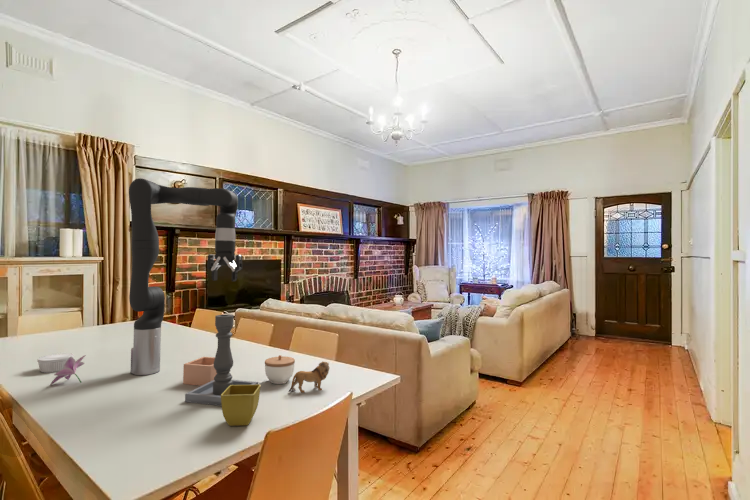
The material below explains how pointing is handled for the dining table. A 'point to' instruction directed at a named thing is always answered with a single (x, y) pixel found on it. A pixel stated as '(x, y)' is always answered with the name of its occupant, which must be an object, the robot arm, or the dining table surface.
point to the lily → (68, 369)
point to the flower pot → (240, 403)
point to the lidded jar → (279, 369)
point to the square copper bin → (199, 371)
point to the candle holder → (223, 354)
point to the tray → (210, 393)
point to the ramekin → (53, 362)
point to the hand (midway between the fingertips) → (224, 280)
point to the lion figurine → (311, 376)
